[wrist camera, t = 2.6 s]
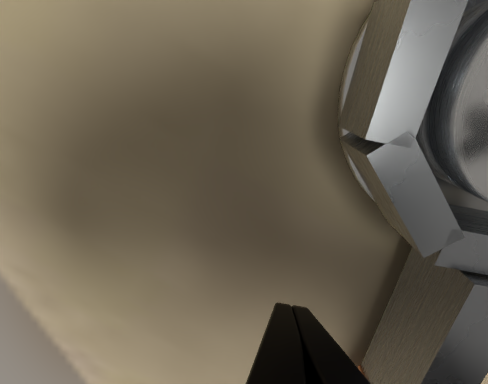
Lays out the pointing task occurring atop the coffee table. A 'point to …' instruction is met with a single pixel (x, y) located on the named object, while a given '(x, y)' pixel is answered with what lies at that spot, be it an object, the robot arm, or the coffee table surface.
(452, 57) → the grey metal bowl
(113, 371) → the coffee table surface
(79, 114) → the coffee table surface
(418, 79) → the grey octagonal frying pan
